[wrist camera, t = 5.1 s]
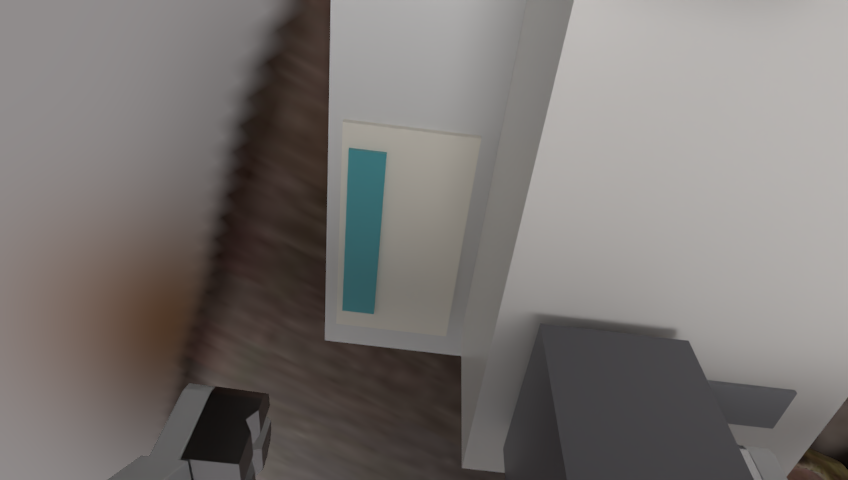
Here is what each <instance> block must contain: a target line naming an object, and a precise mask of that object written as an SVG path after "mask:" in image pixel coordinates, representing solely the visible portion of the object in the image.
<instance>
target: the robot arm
mask: <svg viewBox="0 0 848 480" xmlns="http://www.w3.org/2000/svg"><path fill="white" fill-rule="evenodd" d="M269 406H270V403H269V394H266V393H259V392H252V391H244V390H237V389H230V388H223V387H215V386H207V385H199V384H189V385H188V386H187V387H186V388H185V389H184V390H183V391H182V393H181V395H180V397H179V399H178V401H177V403H176V405H175V407H174V409H173V411H172V413H171V415H170V416H169V418H168V420H167V422H166V424H165V426H164V428H163V430H162V432H161V434H160V436H159V438H158V440H157V442H156V444H155V446H154V448H153V450H152V452H151V454H150V455H149V456H140V457H139V458H137V459H136V460H134V461H133V462H132V463H131V464H129V465H128V466H126V467H125V468H123V469H122V470H120V471H119V472H118V473H116V474H115V475H114V476H112V477H111V478H109V479H108V480H256V479H255V476H256V475H257V474H258V473H259V472H261V471H262V470H263V468H264V465H265V461H266V458H267V454H268V449H269V444H270V437H271V420H270V419H269V418H268V417H267V412H268V409H269ZM737 445H738V444H737ZM738 447H739V449H740V451H741V453H742V455H743V458H744V460H745V462H746V464H747V466H748V468H749V470H750V472H751V475H752V477H753V479H754V480H788V479H787V477H786V475H785V473H784V471H783V469H782V467H781V466H780V464H779V462H778V460H777V458H776V456H775V455H774V453H773V452H772V451H771V450H769V449H768V448H761V447H752V446H743V445H738Z"/></svg>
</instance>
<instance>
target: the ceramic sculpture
mask: <svg viewBox="0 0 848 480" xmlns="http://www.w3.org/2000/svg"><path fill="white" fill-rule="evenodd" d="M787 479H788V480H848V470H847V469H846V467H845V466H844V465H843V464H842V463H841V462H839V461H837V460H835V459H833V458H831V457H828V456H826V455H824V454H822V453H819V452H817V451H815V450H813V449H810V448H808V450H807V451H806V452H805V453H804V455H803V456H802V457H801V459H800V460H799V461H798V463H797V464H796V465H795V466H794V468H793V469H792V470H791V472H790V473H789V474H788V476H787Z"/></svg>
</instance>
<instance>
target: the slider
mask: <svg viewBox="0 0 848 480" xmlns="http://www.w3.org/2000/svg"><path fill="white" fill-rule="evenodd" d="M503 454H504V468H505V480H754V479H753V477H752V475H751V472H750V470H749V468H748V466H747V464H746V462H745V460H744V458H743V455H742V453H741V451H740V449H739V447H738V445H737V443H736V441H735V438H734V436H733V434H732V432H731V430H730V428H729V426H728V423H727V421H726V419H725V417H724V415H723V413H722V411H721V409H720V406H719V404H718V402H717V400H716V398H715V396H714V394H713V392H712V389H711V387H710V385H709V383H708V381H707V379H706V377H705V374H704V372H703V370H702V368H701V366H700V364H699V362H698V360H697V357H696V355H695V353H694V351H693V349H692V347H691V345H690V343H689V341H686V340H678V339H669V338H661V337H652V336H644V335H635V334H627V333H618V332H610V331H601V330H593V329H584V328H576V327H567V326H559V325H550V324H541V323H540V326H539V329H538V332H537V336H536V339H535V343H534V346H533V349H532V353H531V356H530V359H529V363H528V366H527V369H526V373H525V376H524V380H523V383H522V386H521V390H520V393H519V396H518V400H517V403H516V407H515V410H514V413H513V417H512V420H511V423H510V427H509V430H508V433H507V437H506V440H505V444H504V447H503Z"/></svg>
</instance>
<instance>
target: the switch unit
mask: <svg viewBox="0 0 848 480" xmlns="http://www.w3.org/2000/svg"><path fill="white" fill-rule="evenodd" d="M540 323H541V324H550V325H559V326H567V327H576V328H584V329H593V330H601V331H610V332H618V333H627V334H635V335H644V336H652V337H661V338H669V339H678V340H686V341H689V343H690V345H691V347H692V349H693V351H694V353H695V355H696V357H697V360H698V362H699V364H700V366H701V368H702V370H703V372H704V374H705V377H706V379H707V381H708V383H709V385H710V387H711V389H712V392H713V394H714V396H715V398H716V400H717V402H718V404H719V406H720V409H721V411H722V413H723V415H724V417H725V419H726V421H727V423H728V426H729V428H730V430H731V432H732V434H733V436H734V438H735V441H736V443H737V444H738V445H743V446H752V447H761V448H768V449H769V450H771V451H772V452H773V453H774V455H775V456H776V458H777V460H778V462H779V464H780V466H781V467H782V469H783V471H784V473H785V475H786V477H787V476H788V474H789V473H790V472H791V470H792V469H793V468H794V466H795V465H796V464H797V463H798V461H799V460H800V459H801V457H802V456H803V455H804V453H805V452H806V451H807V450H808V448H809V447H810V446H811V444H812V443H813V442H814V440H815V439H816V438H817V437H818V435H819V434H820V433H821V431H822V430H823V429H824V427H825V426H826V425H827V424H828V422H829V421H830V420H831V418H832V417H833V416H834V414H835V413H836V412H837V411H838V409H839V408H840V407H841V405H842V404H843V403H844V401H845V400H846V399H847V398H848V0H331V14H330V70H329V127H328V184H327V240H326V297H325V340H327V341H335V342H344V343H352V344H361V345H370V346H378V347H387V348H396V349H404V350H413V351H421V352H430V353H439V354H447V355H456V356H461V408H462V468H466V469H474V470H483V471H492V472H501V473H505V468H504V454H503V447H504V444H505V440H506V437H507V433H508V430H509V427H510V423H511V420H512V417H513V413H514V410H515V407H516V403H517V400H518V396H519V393H520V390H521V386H522V383H523V380H524V376H525V373H526V369H527V366H528V363H529V359H530V356H531V353H532V349H533V346H534V343H535V339H536V336H537V332H538V329H539V326H540Z"/></svg>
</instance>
